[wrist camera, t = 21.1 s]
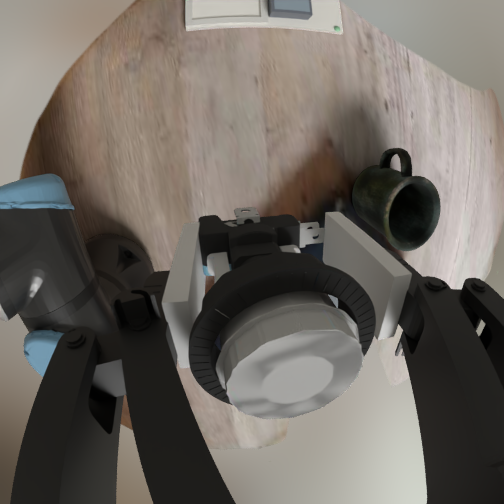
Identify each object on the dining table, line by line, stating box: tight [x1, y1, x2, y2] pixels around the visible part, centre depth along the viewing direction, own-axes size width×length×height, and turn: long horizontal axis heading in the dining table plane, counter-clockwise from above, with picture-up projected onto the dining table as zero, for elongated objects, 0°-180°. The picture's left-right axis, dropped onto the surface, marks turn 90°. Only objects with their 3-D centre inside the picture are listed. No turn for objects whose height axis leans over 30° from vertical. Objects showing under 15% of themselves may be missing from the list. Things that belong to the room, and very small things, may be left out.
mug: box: [352, 148, 440, 251], centre depth 39 cm, size 11×15×12 cm
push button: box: [188, 207, 376, 419], centre depth 11 cm, size 7×5×10 cm
